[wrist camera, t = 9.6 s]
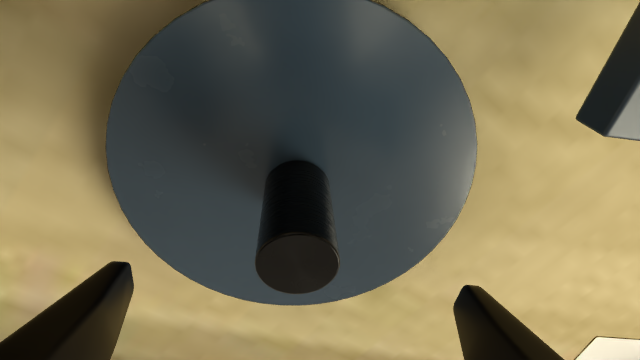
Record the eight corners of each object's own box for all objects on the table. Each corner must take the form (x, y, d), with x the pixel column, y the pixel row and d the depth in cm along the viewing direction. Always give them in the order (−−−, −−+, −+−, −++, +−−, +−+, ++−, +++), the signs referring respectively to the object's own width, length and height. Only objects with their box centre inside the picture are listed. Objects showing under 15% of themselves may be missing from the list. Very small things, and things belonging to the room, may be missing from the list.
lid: (139, 278, 17) (87, 389, 13) (86, -56, 10) (-70, -61, 6) (410, 295, 19) (445, 397, 14) (526, 17, 12) (658, 56, 7)
